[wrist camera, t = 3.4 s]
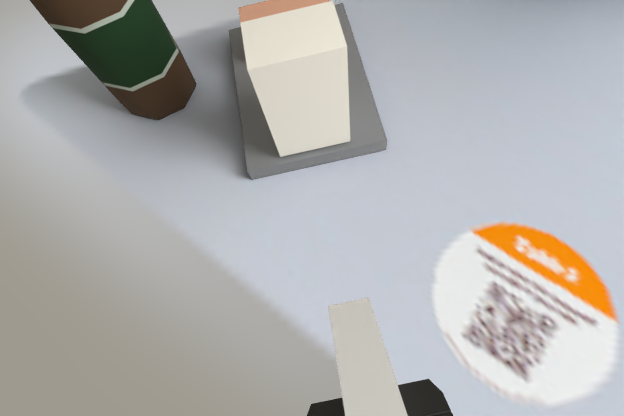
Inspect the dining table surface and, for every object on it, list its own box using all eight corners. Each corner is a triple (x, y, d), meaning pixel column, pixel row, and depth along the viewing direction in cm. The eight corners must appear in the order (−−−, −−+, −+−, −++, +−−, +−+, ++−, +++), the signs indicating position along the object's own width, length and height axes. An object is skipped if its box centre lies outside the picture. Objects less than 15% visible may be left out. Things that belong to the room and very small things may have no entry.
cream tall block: (340, 103, 32) (333, 0, 23) (350, 141, 30) (347, 46, 21) (273, 118, 32) (240, 22, 23) (280, 156, 31) (247, 69, 22)
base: (343, 15, 39) (342, 3, 37) (385, 149, 32) (387, 140, 30) (233, 41, 39) (228, 30, 38) (251, 179, 32) (247, 171, 31)
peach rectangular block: (328, 24, 36) (325, -14, 33) (334, 46, 35) (332, 9, 31) (250, 43, 37) (238, 7, 33) (253, 65, 35) (242, 31, 32)
